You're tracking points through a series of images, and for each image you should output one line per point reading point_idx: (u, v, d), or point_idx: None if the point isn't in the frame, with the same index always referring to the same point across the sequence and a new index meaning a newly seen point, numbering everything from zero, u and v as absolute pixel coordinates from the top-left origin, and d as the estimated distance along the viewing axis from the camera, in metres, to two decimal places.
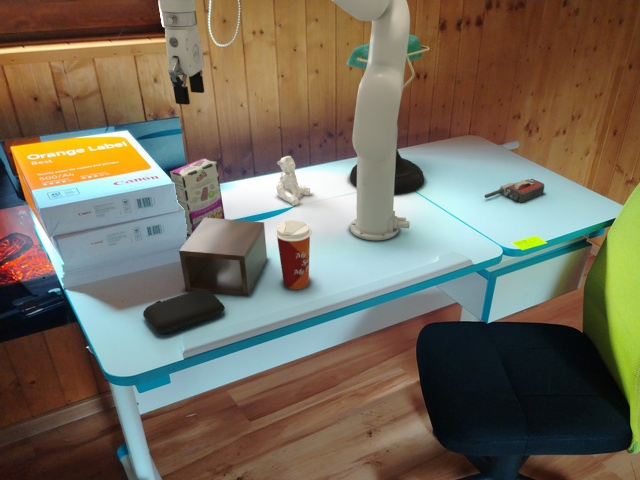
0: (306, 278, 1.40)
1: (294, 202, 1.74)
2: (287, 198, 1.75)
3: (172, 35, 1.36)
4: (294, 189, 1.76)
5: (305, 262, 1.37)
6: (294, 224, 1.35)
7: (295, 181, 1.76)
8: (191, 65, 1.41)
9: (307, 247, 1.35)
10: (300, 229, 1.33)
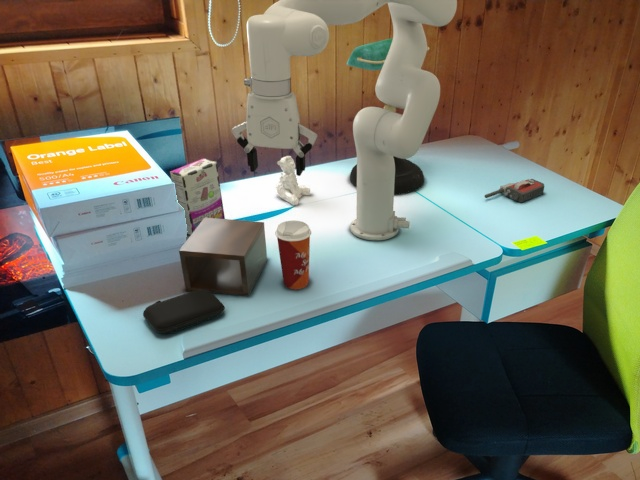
0: (306, 278, 1.40)
1: (294, 202, 1.74)
2: (287, 198, 1.75)
3: None
4: (294, 189, 1.76)
5: (305, 262, 1.37)
6: (294, 224, 1.35)
7: (295, 181, 1.76)
8: (254, 135, 1.23)
9: (307, 247, 1.35)
10: (300, 229, 1.33)
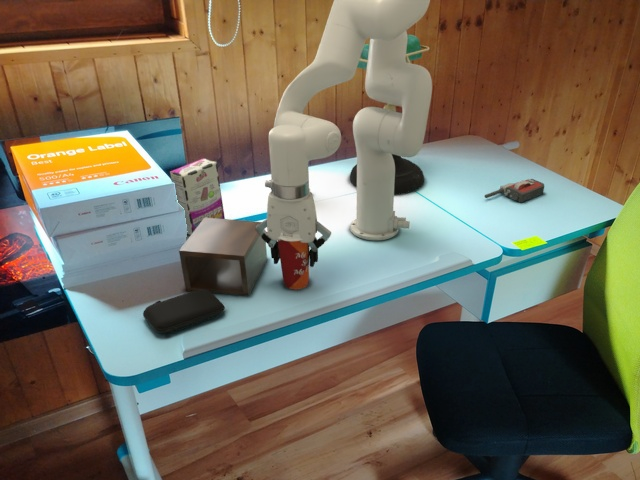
0: (306, 278, 1.40)
1: None
2: None
3: None
4: None
5: (305, 262, 1.37)
6: None
7: None
8: (274, 231, 1.32)
9: (307, 247, 1.35)
10: None
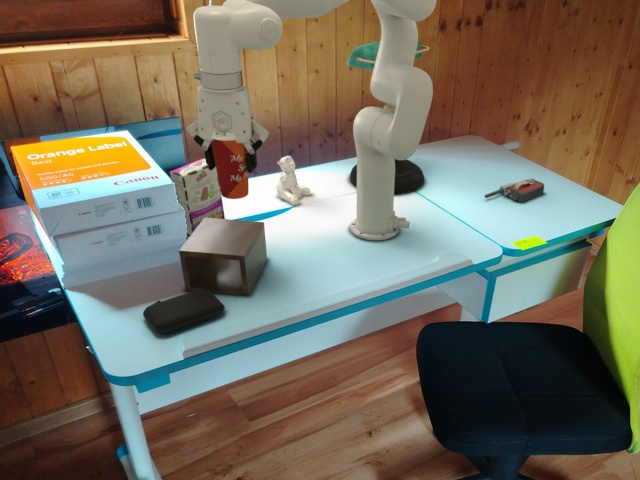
0: (245, 187, 1.29)
1: (294, 202, 1.74)
2: (287, 198, 1.75)
3: None
4: (294, 189, 1.76)
5: (242, 167, 1.26)
6: None
7: (295, 181, 1.76)
8: (206, 129, 1.21)
9: (244, 150, 1.24)
10: None
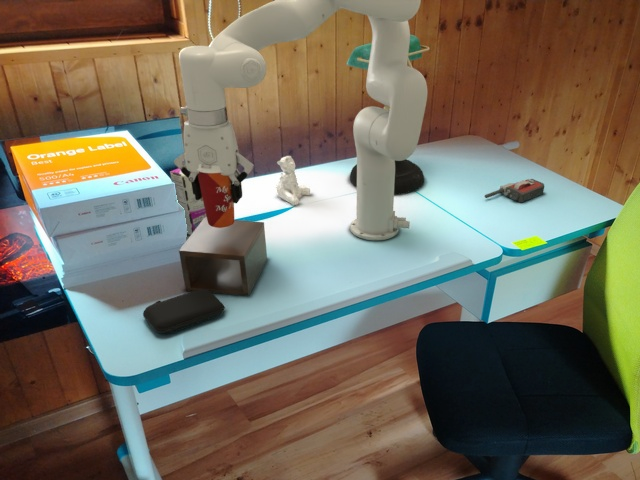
0: (230, 216, 1.33)
1: (294, 202, 1.74)
2: (287, 198, 1.75)
3: None
4: (294, 189, 1.76)
5: (227, 198, 1.30)
6: None
7: (295, 181, 1.76)
8: (192, 162, 1.25)
9: (229, 181, 1.29)
10: None
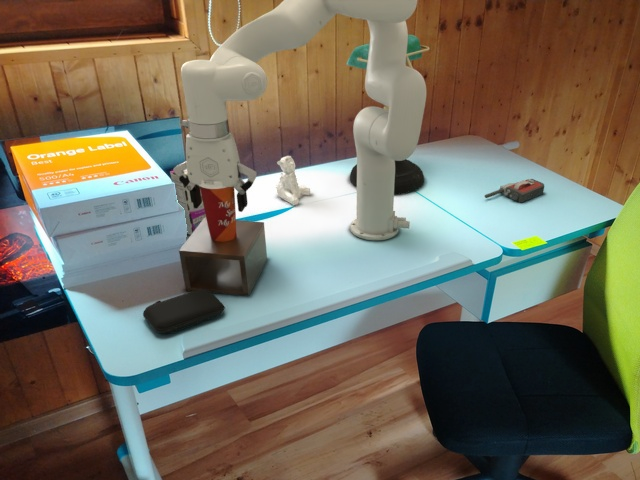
0: (232, 230, 1.35)
1: (294, 202, 1.74)
2: (287, 198, 1.75)
3: None
4: (294, 189, 1.76)
5: (230, 213, 1.32)
6: None
7: (295, 181, 1.76)
8: (194, 174, 1.27)
9: (231, 196, 1.31)
10: None
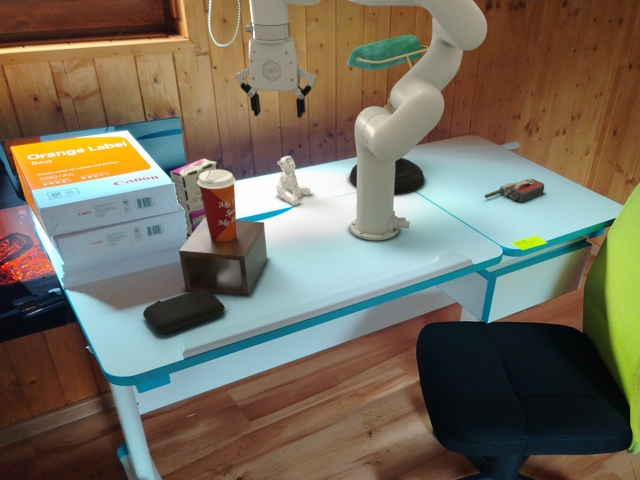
0: (232, 230, 1.35)
1: (294, 202, 1.74)
2: (287, 198, 1.75)
3: None
4: (294, 189, 1.76)
5: (230, 213, 1.32)
6: (217, 173, 1.30)
7: (295, 181, 1.76)
8: (257, 79, 1.32)
9: (231, 196, 1.31)
10: (223, 177, 1.29)
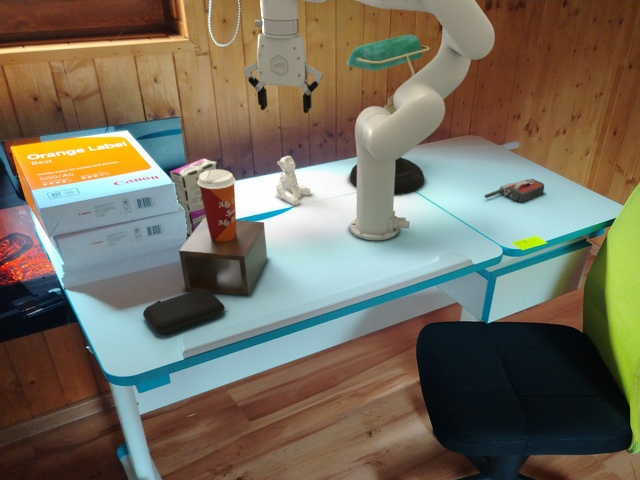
0: (232, 230, 1.35)
1: (294, 202, 1.74)
2: (287, 198, 1.75)
3: None
4: (294, 189, 1.76)
5: (230, 213, 1.32)
6: (217, 173, 1.30)
7: (295, 181, 1.76)
8: (264, 73, 1.34)
9: (231, 196, 1.31)
10: (223, 177, 1.29)
